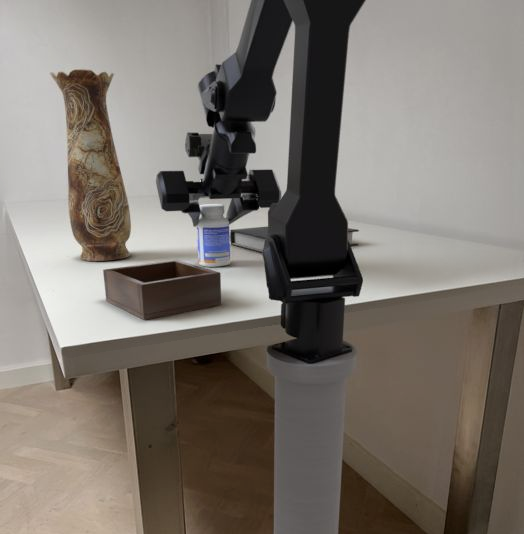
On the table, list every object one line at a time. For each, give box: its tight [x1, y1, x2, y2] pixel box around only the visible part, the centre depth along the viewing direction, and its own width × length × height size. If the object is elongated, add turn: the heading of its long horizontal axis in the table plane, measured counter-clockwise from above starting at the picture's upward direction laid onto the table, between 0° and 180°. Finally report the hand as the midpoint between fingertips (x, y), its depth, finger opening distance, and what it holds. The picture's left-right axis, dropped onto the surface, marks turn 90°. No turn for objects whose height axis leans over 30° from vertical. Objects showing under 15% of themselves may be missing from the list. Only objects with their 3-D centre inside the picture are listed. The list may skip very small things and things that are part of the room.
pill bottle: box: [196, 203, 231, 268], centre depth 92 cm, size 5×5×10 cm
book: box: [229, 226, 360, 254], centre depth 112 cm, size 22×15×3 cm
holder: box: [102, 259, 222, 321], centre depth 69 cm, size 11×11×4 cm
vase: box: [49, 68, 132, 262], centre depth 95 cm, size 10×11×30 cm
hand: (210, 223), depth 92 cm, fingers closed on pill bottle, 5 cm apart
